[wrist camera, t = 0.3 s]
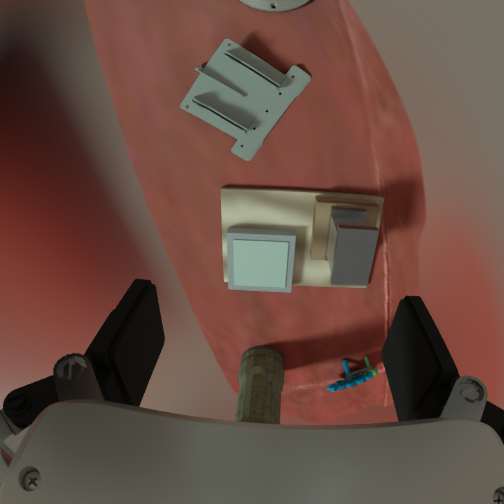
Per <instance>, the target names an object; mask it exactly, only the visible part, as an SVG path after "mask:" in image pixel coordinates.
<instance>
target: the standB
mask: <svg viewBox="0 0 504 504" xmlns="http://www.w3.org/2000/svg"><path fill="white" fill-rule="evenodd" d="M295 241H296V232H295V230H284V229H262V228H239V227H228V230H227V264H228V289H235V290H252V291H271V292H291V286H292V275H293V264H294V253H295Z"/></svg>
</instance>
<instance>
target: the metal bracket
mask: <svg viewBox="0 0 504 504" xmlns="http://www.w3.org/2000/svg"><path fill="white" fill-rule="evenodd" d="M228 43H231V46H230V47H229V46H228V45H227V44H228ZM195 70H196V71H198V72H200V73H201V74H200V75H199V77H198V78H197V80H196V81H195V83H194V84H193V86H192V88H191V89H190V91H189V92H188V94H187V95H186V97H185V98H184V100H183V102H182V103H181V105H180V108H181V109H183V110H185V111H187V112H189V113H191V114H193V115H195V116H196V117H198V118H200V119H202V120H204V121H206V122H208V123H209V124H211V125H213V126H215V127H217V128H218V129H220V130H222V131H224V132H226V133H227V134H229V135H231V136H233V137H234V138H236V139H237V142H236V143H235V145H234V146H233V148H232V149H231V151H232V152H233V153H234V154H236V155H237V156H239V157H241V158H243V159H244V160H246V161H250V160H251V159H252V158H253V156H254V155H255V153H256V152H257V151H258V149H259V148H260V146H261V145H262V144H263V140H264V139H265V137H266V136H267V135H268V133H269V132H270V131H271V129H272V128H273V127H274V125H275V124H276V123H277V121H278V120H279V119H280V117H281V116H282V115H283V113H284V112H285V111H286V109H287V108H288V107H289V105H290V104H291V103H292V102H293V100H294V99H295V98H296V97H297V96H299V94H300V93H301V92H302V90H303V89H304V88H305V87H306V85H307V84H308V83H309V81H310V80H311V77H310V76H309V75H308V74H307V73H305V72H304V71H303V70H301V69H300V68H299V67H297V66H295V65H293V66H292V67H291V68H290V70H289V71H288V72H287V74H283V73H281V72H280V71H278V70H277V69H275V68H274V67H272V66H271V65H269V64H268V63H266V62H265V61H263V60H262V59H260V58H259V57H257V56H255V55H254V54H252V53H251V52H249V51H247V50H246V49H244V48H243V47H241V46H239V45H238V44H236V43H234V42H233V41H231V40H229V39H225V40H224V41H223V42H222V44H221V45H220V47H219V48H218V49H217V51H216V52H215V54H214V55H213V56H212V58H211V59H210V61H209V62H208V64H207V65H206V66H205V68H204V69H203V68H202V67H199V66H198V65H197V67H196V68H195ZM293 75H294V78H292V76H293ZM279 93H281V95H279ZM186 105H189V108H185V106H186ZM266 110H268V112H266ZM254 127H255V128H256V129H255V130H253V128H254ZM241 145H243V147H241Z"/></svg>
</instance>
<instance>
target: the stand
mask: <svg viewBox="0 0 504 504" xmlns="http://www.w3.org/2000/svg"><path fill="white" fill-rule="evenodd" d="M331 207H344V208H358V209H366V211H367V217H366V219H367V221H368V222H369V224H370V226H371V227H376V223H377V218H378V212H379V206H378V204H377V203H376V202H375V201H372V200H360V199H348V198H334V197H319V196H315V204H314V215H313V225H312V235H311V244H310V256H311V260H325V251H326V244H327V236H328V228H329V220H330V212H331Z"/></svg>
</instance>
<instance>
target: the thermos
mask: <svg viewBox="0 0 504 504" xmlns="http://www.w3.org/2000/svg"><path fill="white" fill-rule="evenodd" d="M238 382H239V385H240V388H239V395H238V403H237V410H236V417H235V421H239V422H250V423H265V424H280V403H281V391H282V389H283V383H284V367H283V356H282V355H281V353H280V352H279V351H277V350H276V349H274V348H271V347H268V346H255V347H252V348H249V349H248V350H246V351H245V352H244V353H243V355H242V360H241V364H240V368H239V375H238Z"/></svg>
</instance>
